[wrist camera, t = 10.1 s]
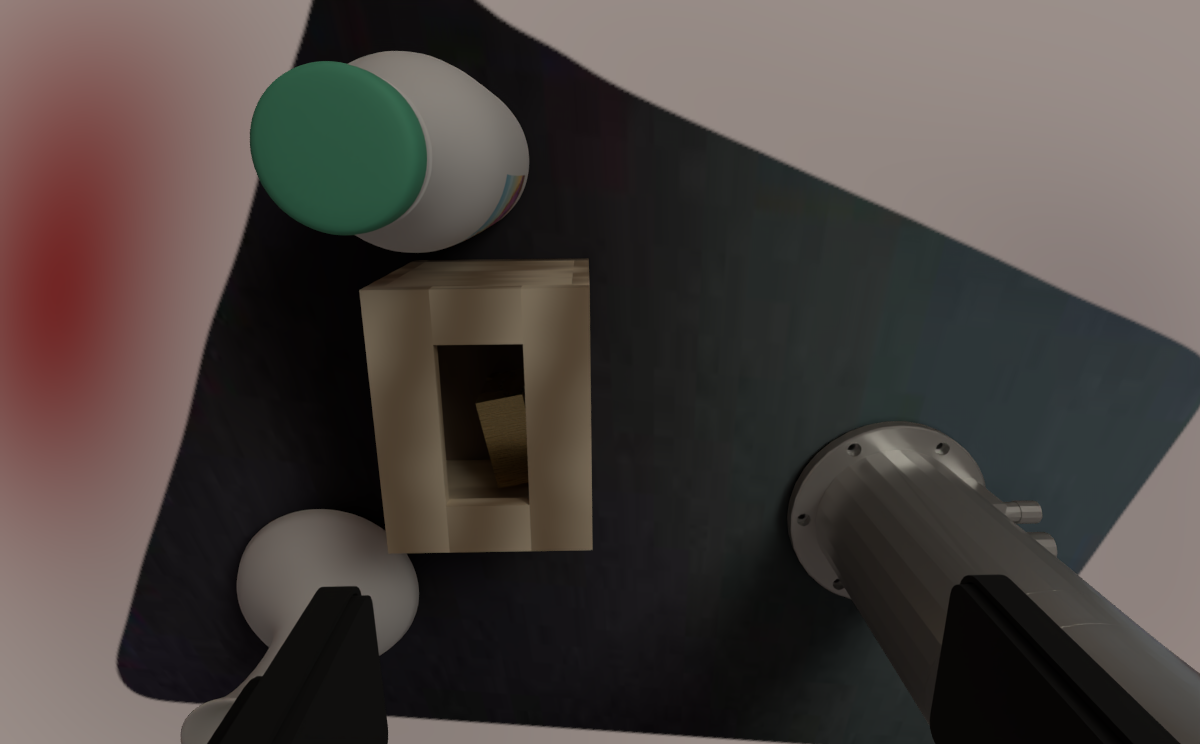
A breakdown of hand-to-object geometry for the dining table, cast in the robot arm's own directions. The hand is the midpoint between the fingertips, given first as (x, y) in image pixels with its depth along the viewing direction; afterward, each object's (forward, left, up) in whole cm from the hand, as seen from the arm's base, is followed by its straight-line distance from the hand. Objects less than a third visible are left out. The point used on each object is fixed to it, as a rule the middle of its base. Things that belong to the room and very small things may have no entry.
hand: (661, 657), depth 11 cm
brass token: (+6, +4, -27) cm, 28 cm away
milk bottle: (+8, -8, -31) cm, 33 cm away
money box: (+6, +4, -30) cm, 31 cm away
